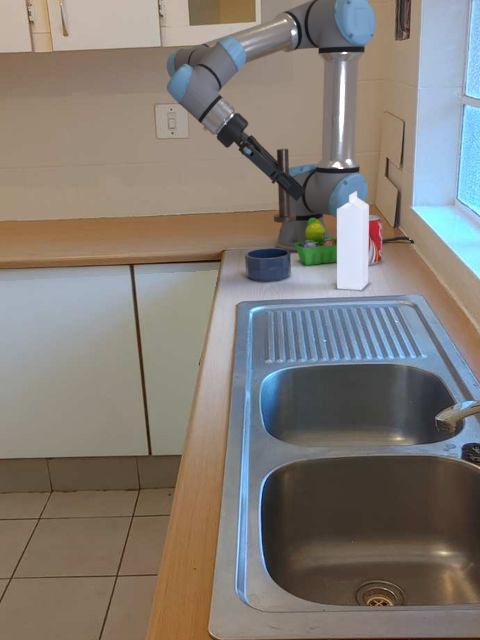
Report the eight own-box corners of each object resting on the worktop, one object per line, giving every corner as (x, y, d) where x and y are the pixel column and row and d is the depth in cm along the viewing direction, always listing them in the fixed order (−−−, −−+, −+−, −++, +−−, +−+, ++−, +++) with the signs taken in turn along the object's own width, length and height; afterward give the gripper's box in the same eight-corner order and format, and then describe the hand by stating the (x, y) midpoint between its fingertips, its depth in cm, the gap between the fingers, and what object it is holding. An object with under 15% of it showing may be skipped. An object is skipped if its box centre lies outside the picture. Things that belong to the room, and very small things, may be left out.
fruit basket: (303, 267, 198) (302, 224, 194) (292, 259, 206) (291, 218, 202) (343, 262, 201) (343, 220, 196) (332, 255, 209) (331, 214, 204)
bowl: (281, 268, 199) (280, 245, 196) (297, 278, 189) (297, 255, 186) (240, 273, 196) (239, 251, 194) (254, 284, 186) (253, 261, 183)
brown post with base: (291, 217, 180) (289, 147, 174) (299, 221, 176) (297, 149, 169) (270, 219, 179) (267, 149, 173) (278, 223, 174) (275, 151, 168)
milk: (336, 289, 179) (335, 195, 170) (344, 281, 184) (343, 190, 175) (361, 290, 176) (361, 195, 168) (368, 283, 181) (369, 190, 173)
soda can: (379, 266, 195) (380, 220, 190) (352, 265, 197) (352, 219, 193) (383, 259, 201) (384, 214, 196) (357, 258, 203) (357, 214, 199)
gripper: (220, 133, 179) (291, 201, 183) (209, 140, 165) (287, 213, 169) (241, 108, 176) (313, 177, 180) (232, 113, 162) (310, 188, 166)
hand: (300, 195), depth 174 cm, fingers closed on brown post with base, 3 cm apart
